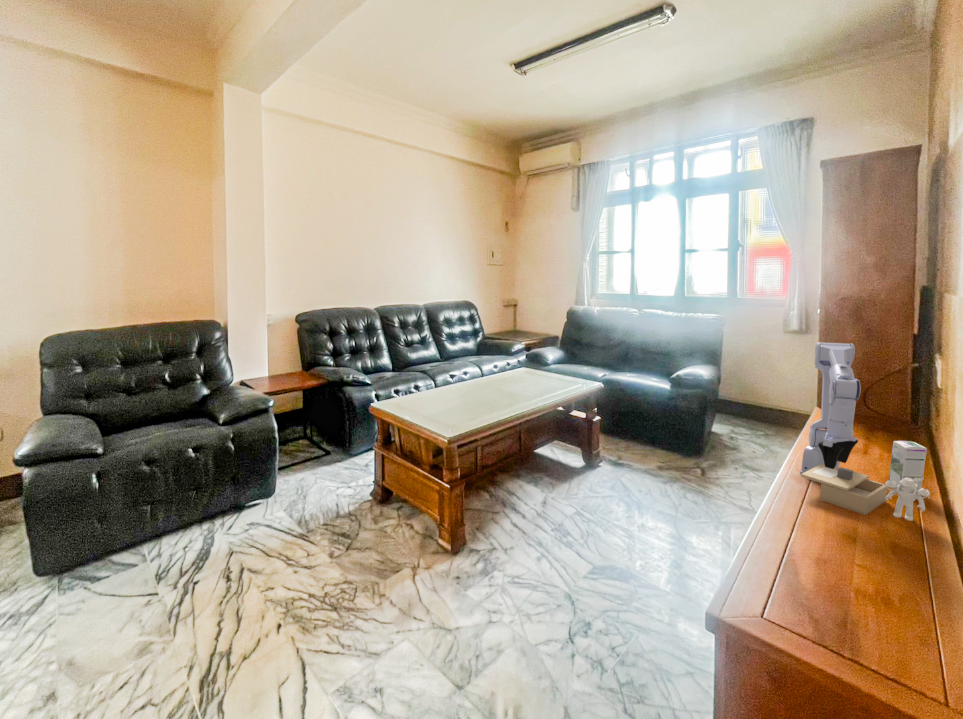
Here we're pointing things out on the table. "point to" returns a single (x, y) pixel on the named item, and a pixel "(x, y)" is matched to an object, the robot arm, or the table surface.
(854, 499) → the mailer box
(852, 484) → the mailer lid
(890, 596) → the table surface
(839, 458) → the robot arm
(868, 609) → the table surface
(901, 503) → the blocky character figurine
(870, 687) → the table surface
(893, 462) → the syrup box
